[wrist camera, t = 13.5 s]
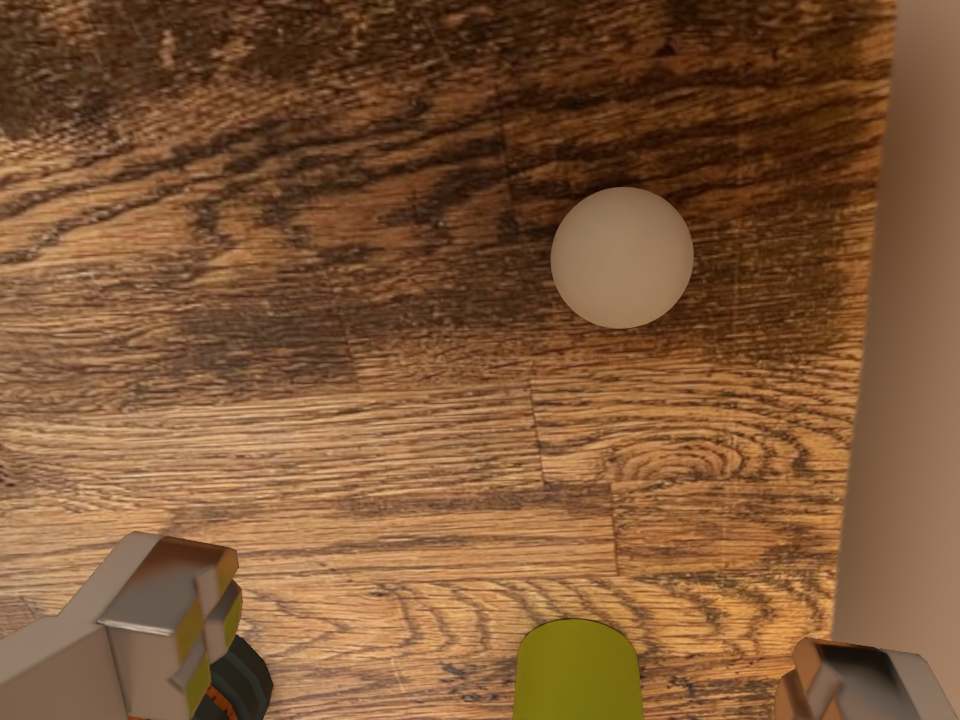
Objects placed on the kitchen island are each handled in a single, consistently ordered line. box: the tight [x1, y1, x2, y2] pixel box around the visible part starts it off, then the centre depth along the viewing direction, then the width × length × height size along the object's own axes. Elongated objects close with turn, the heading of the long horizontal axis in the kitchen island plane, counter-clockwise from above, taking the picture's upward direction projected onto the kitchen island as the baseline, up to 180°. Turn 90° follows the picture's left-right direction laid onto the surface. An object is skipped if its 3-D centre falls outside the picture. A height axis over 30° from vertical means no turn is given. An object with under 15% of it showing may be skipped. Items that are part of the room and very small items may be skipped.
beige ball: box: [551, 187, 694, 329], centre depth 21 cm, size 4×4×4 cm
